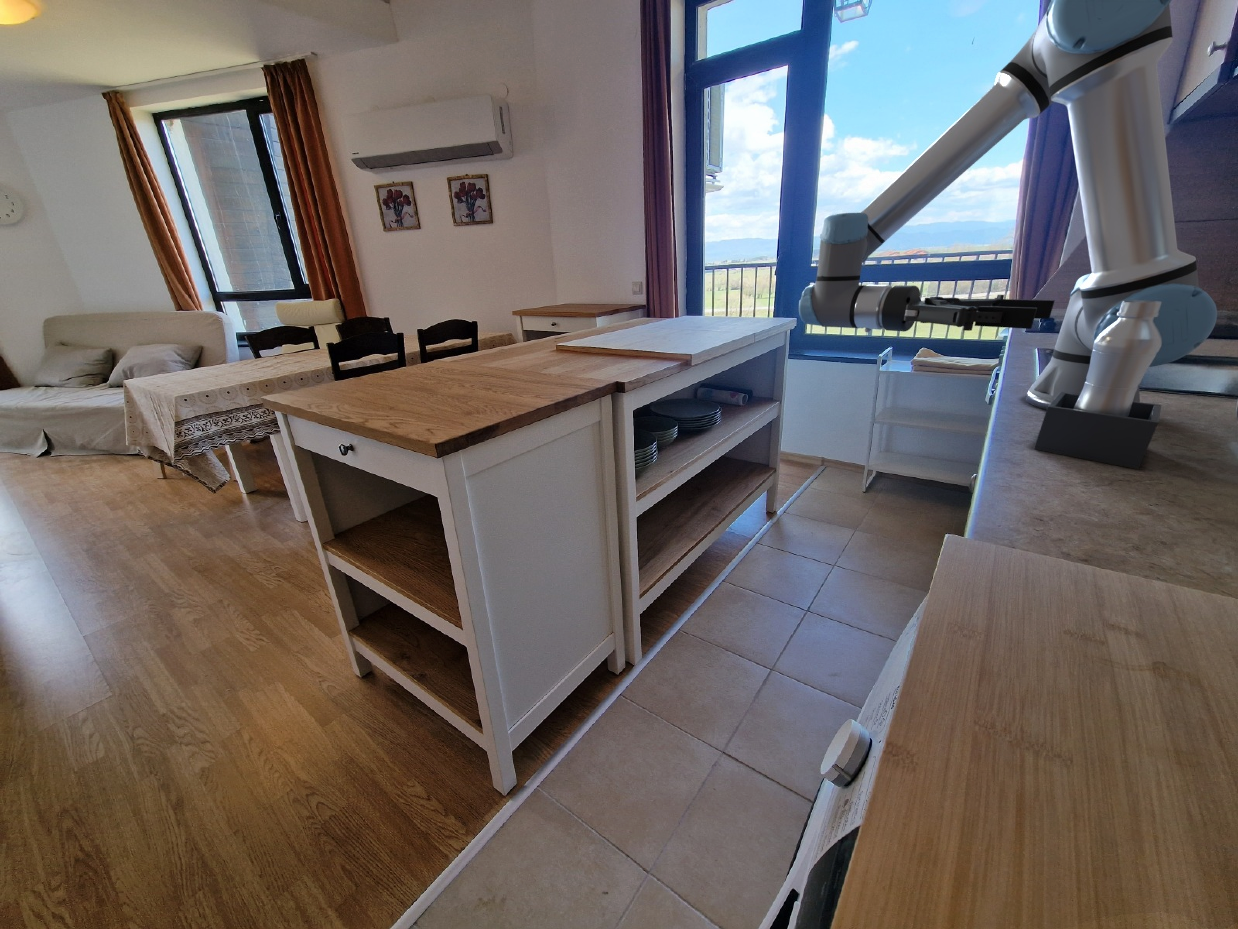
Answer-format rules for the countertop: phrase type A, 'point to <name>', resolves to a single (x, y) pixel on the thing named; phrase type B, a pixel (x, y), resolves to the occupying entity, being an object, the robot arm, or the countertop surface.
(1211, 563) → the countertop surface
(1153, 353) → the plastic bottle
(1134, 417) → the bin
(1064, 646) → the countertop surface
